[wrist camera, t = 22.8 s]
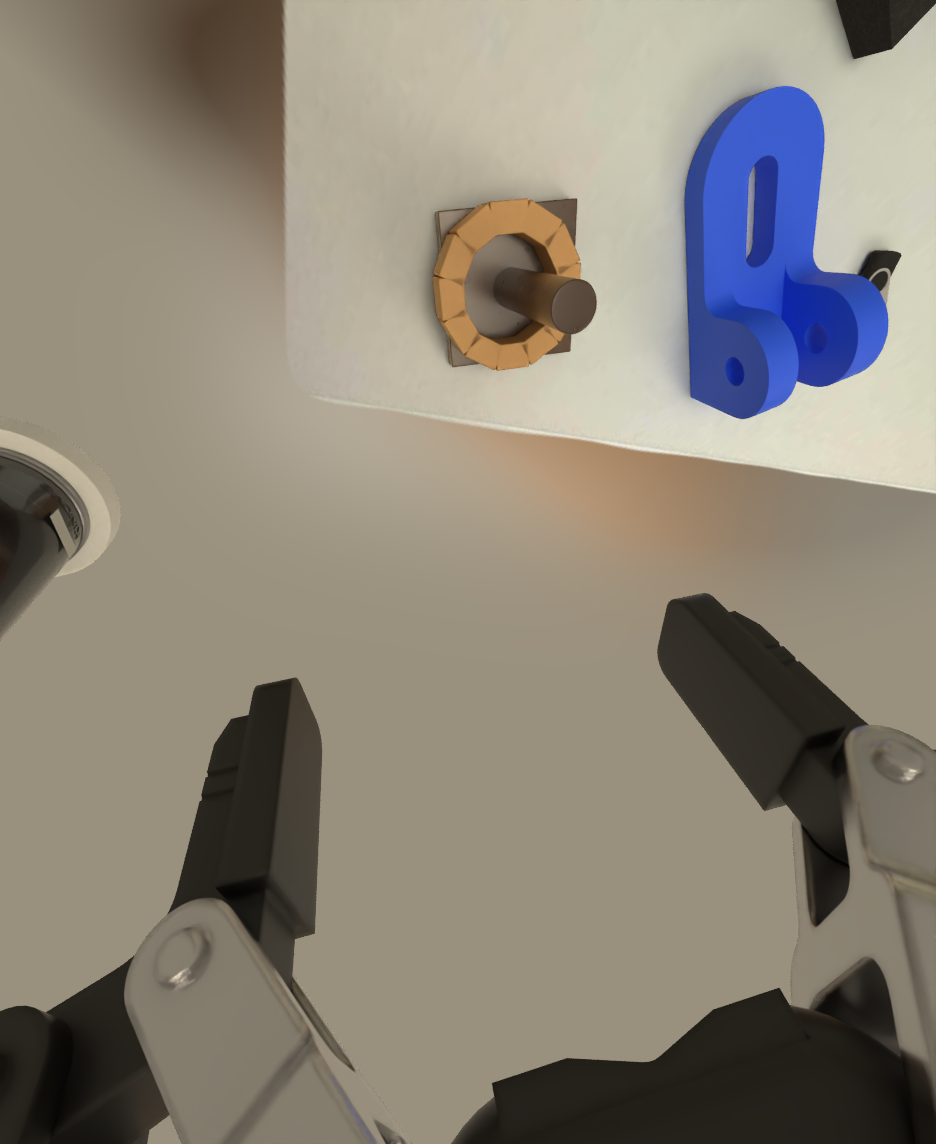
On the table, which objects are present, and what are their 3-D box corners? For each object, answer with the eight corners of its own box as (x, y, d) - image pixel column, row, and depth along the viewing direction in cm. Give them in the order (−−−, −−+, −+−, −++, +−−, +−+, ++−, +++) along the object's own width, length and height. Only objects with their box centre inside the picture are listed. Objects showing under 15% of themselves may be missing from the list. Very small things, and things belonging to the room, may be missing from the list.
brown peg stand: (449, 363, 35) (490, 412, 25) (434, 211, 30) (479, 199, 20) (564, 348, 36) (645, 389, 27) (570, 199, 31) (674, 181, 21)
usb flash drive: (871, 248, 37) (883, 249, 36) (921, 258, 38) (933, 258, 37) (813, 367, 41) (822, 369, 41) (859, 372, 43) (869, 374, 42)
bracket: (781, 359, 41) (876, 386, 33) (691, 397, 41) (765, 431, 34) (806, 72, 30) (953, 19, 23) (682, 124, 30) (789, 89, 23)
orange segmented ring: (442, 369, 34) (447, 377, 32) (425, 209, 29) (431, 207, 27) (563, 353, 35) (576, 360, 33) (569, 196, 30) (584, 193, 28)
